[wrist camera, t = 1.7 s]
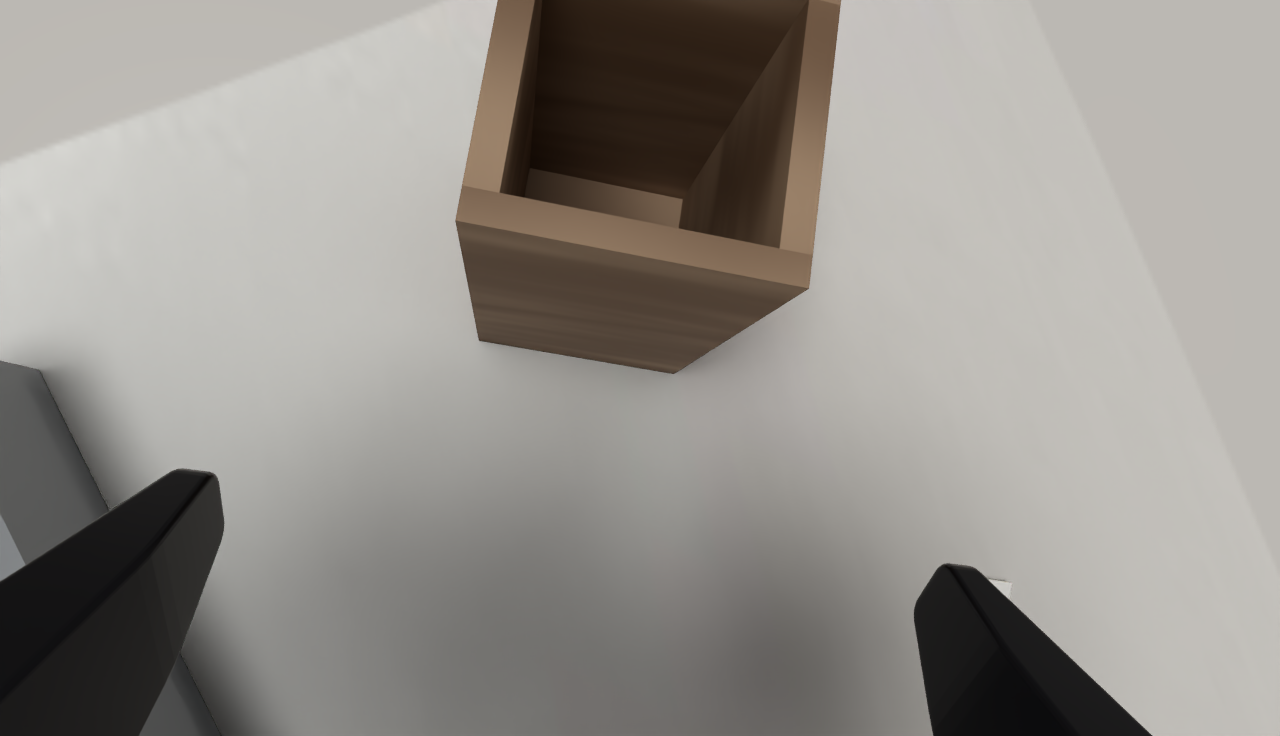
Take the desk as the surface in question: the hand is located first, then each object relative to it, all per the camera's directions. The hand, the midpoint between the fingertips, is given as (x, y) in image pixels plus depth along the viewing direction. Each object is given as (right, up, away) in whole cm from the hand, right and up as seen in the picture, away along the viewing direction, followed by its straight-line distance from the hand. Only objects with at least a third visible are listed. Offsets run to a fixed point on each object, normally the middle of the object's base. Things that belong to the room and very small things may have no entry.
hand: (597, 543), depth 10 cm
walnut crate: (-1, +5, +14) cm, 15 cm away
